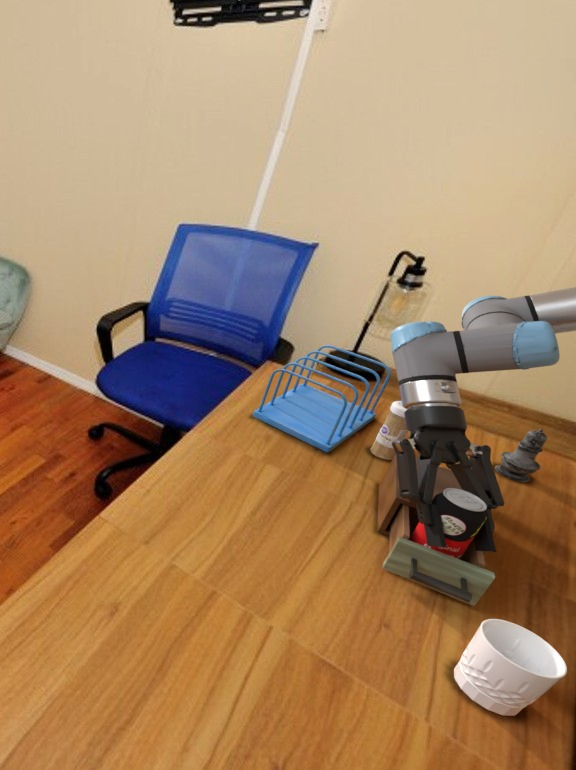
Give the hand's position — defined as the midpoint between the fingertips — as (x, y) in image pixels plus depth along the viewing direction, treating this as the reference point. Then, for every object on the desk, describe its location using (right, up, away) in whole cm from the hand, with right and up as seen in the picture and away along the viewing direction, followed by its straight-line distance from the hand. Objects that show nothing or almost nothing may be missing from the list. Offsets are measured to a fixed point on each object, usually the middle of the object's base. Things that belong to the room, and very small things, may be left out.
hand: (461, 548), depth 81 cm
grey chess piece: (+40, +5, +28) cm, 49 cm away
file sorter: (+11, +14, +47) cm, 50 cm away
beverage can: (0, -3, +5) cm, 6 cm away
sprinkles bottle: (+17, +8, +34) cm, 39 cm away
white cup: (-8, -16, -11) cm, 21 cm away
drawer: (0, -6, +6) cm, 8 cm away
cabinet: (+9, -2, +16) cm, 18 cm away
